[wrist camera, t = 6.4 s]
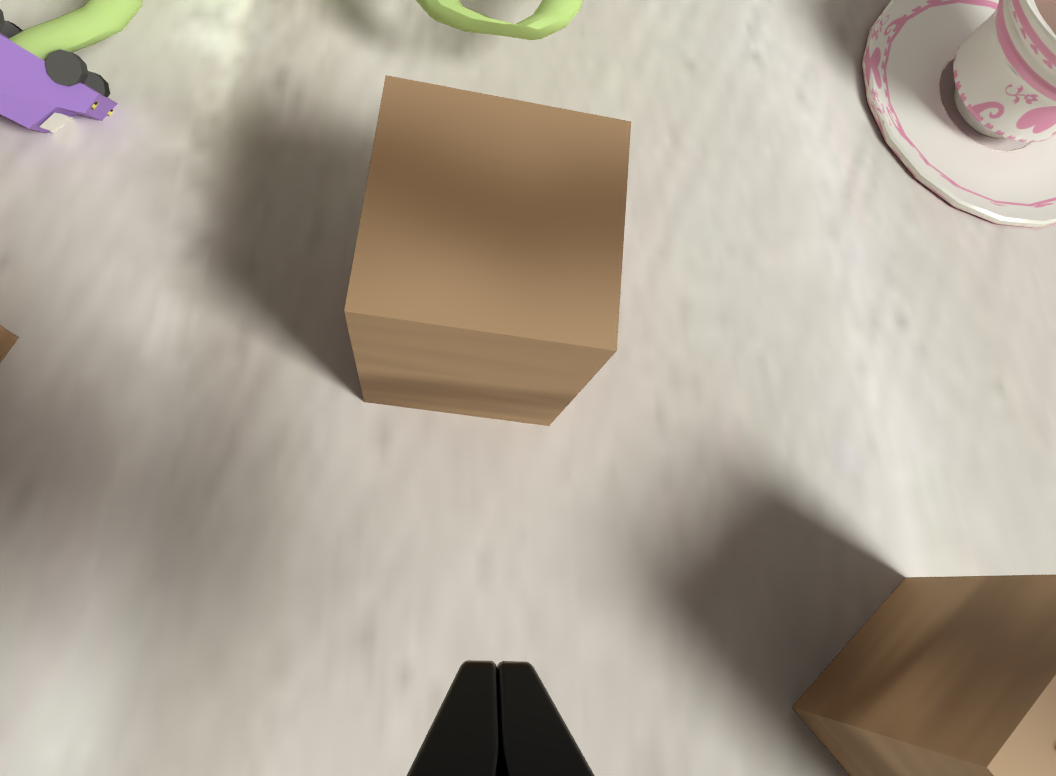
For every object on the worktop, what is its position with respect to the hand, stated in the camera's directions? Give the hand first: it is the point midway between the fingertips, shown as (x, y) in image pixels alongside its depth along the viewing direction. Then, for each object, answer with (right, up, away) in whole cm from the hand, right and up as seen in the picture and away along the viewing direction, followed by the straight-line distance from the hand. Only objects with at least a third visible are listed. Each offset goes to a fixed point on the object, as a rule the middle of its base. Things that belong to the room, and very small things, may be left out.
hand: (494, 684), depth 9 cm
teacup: (+20, +16, +22) cm, 34 cm away
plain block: (-2, +6, +15) cm, 16 cm away
